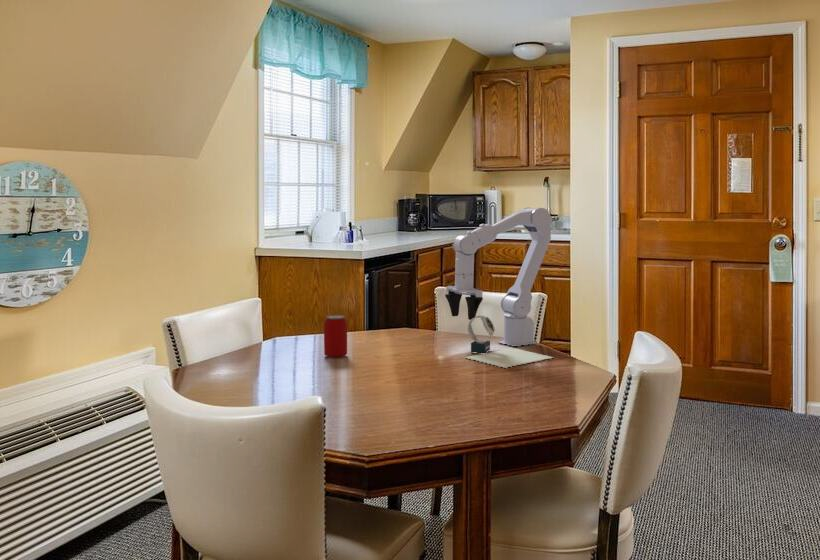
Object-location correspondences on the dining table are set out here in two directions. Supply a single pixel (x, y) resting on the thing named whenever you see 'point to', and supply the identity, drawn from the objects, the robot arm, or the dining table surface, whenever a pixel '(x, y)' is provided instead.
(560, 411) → the dining table surface
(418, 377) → the dining table surface
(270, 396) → the dining table surface
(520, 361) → the mat
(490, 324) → the watch
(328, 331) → the beverage can
